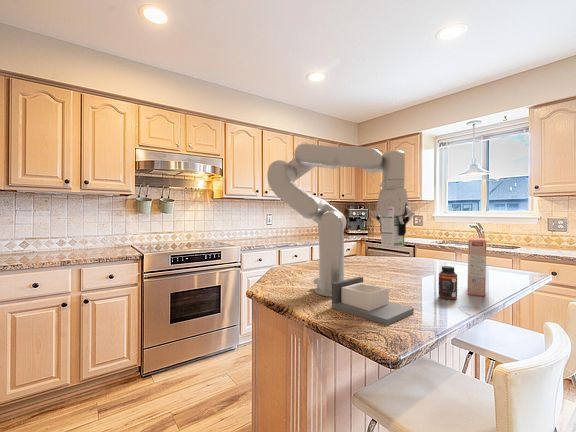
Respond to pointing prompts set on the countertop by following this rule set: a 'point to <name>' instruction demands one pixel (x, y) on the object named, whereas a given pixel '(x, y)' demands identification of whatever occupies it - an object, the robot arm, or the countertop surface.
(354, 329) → the countertop surface
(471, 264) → the cracker box
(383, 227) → the syrup box
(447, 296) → the supplement bottle
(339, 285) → the slide base
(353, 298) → the socket block
